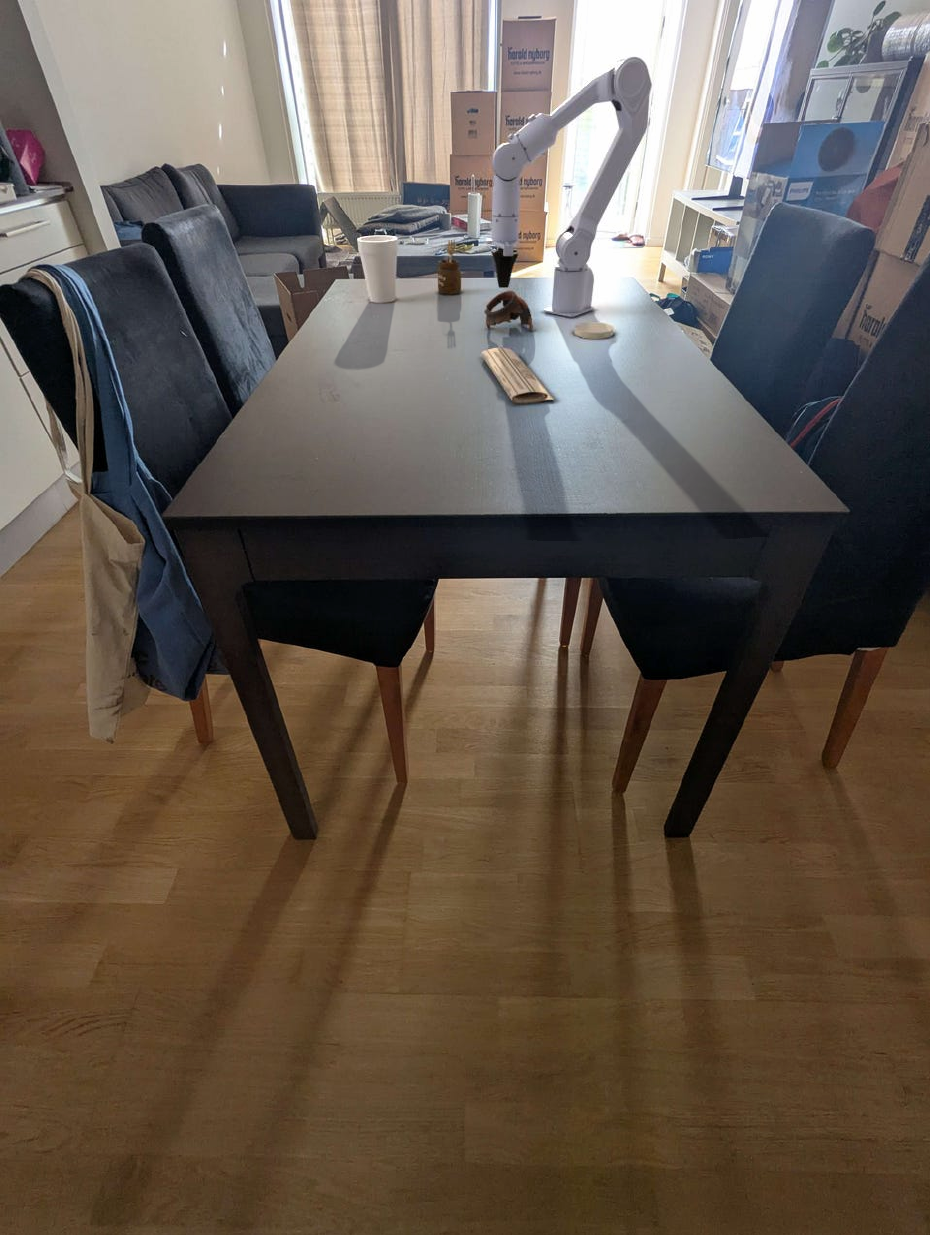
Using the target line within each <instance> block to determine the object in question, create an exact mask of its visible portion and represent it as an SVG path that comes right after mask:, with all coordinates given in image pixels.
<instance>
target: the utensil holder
mask: <svg viewBox="0 0 930 1235" xmlns="http://www.w3.org/2000/svg"><path fill="white" fill-rule="evenodd" d="M443 244H447V248H445V245H442V249H445V252H443V254H442V255H448V256H449V258H448V257H446V256H443V257H444V259H441V260H439V261H438V270H437V291H438V293H439V294H441V295H446V296H447V295H448V296H449V295H458V294H461V292H462V272H461V269H460V261H459V260H458V259H453V255H454V254H455V245H456V240H455V239H451V240H450V239H449V240H447V241H446V240H445V241H444V242H443Z"/></svg>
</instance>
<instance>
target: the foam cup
mask: <svg viewBox="0 0 930 1235" xmlns="http://www.w3.org/2000/svg"><path fill="white" fill-rule="evenodd" d="M398 244H399V243H398V237H397V236H394V235H378V234H375V235H367V236H361V237H358V238H357V250H358V252H359V257H360V261H361V265H362V270H363V275H364V279H365V284H366V289H367V294H368V299H369V301H370V302H371V303H377V304H383V303H384V304H385V303H391V302H394V301H396V291H397V289H396V288H397V267H398V266H397V264H398V251H399V247H398Z"/></svg>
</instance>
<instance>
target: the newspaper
mask: <svg viewBox="0 0 930 1235" xmlns="http://www.w3.org/2000/svg"><path fill="white" fill-rule="evenodd" d="M481 357H482V358H483V360H484V361H485V363H486V364H487V366H488V367H489V369H490V370H491V372H492V373H493V374H494V377H495V378H496V379H497V381H498V382H499V384H500V385H501V387H502V388H503V390H504V391H505V393H506V394H507V396H508V397H509V399H510V400H511V402H513V403H515V404H530V403H540V402H543V401H551V400H552V401H555V399H554V398H553V397H552V395H551V394H550V393H549V392H548V391H547V390H546V388H545V387H544V386H543V384H542V383H541V382H540V381H539V379H538V378H537V377H536V376H535V374H534V373H533V372H532V371H531V370H530V369H529V367H528V366H527V364H525V362H524V361H523V360H522V358H521V357H520V356H519V355H518V354H516V353H515V352H514V351H513V350H512V349H510V348H507V347H492V348H489V349H485V350H482V351H481Z"/></svg>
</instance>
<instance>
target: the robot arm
mask: <svg viewBox="0 0 930 1235" xmlns="http://www.w3.org/2000/svg"><path fill="white" fill-rule="evenodd" d="M652 86H653V84H652V80H651V75H650V71H649V69H648V65H647V63H646V62H645V60H643V59H642V58H641V57H638V56H630V57H627V58H626V59H624V58H623V59H619V60H617V61H615V62H614V63H613V64H612V65H611V66H610V67H608V68H605V69H603V70H602V71H600V72H599V73H597V74H596V75H594V76H593V77H591V78H590V79H589V80H588V81H586V82H585V83H584V84H583V85H582V86H581V87H579V89H577V90H576V91H575V92H574V93H573V94H571V96H569V98H567V99H566V100H565V101H564V102H563V103H562V104H560V105H559V106H558V107H557V108H556V109H555V110H554V111H552V112H551V113H550V114H547V113H544V112H539V113H538V114H537V115H536V114H532V115H530V116H529V117H528V119H527V120H528V122H527V124H525V125H524V126H522V128H521V129H519V130H518V131H517V132H516V133H514V134H513V133H510V134H509V135H508V136H507V139H508V141H509V142H506V143H502V144H500V145H499V146H498V147H497V148H496V149H495V150H494V152H493V155H492V159H491V167H492V171H493V172H494V174H493V179H492V184H493V187H492V192H491V193H492V196H491V197H492V198H491V201H492V202H491V238H486V239H485V243H486V245H492V246H494V247H497V248H498V249H491V250H490V253H491V256H492V258H493V261H494V266H495V272H496V279H497V285H498V288H499V289H503V288H505V289H507V288H509V286H510V282H511V277H512V273H513V268H514V265H515V263H516V260H517V259H518V256H519V252H518V250H517V248H515V247H517V246H519V244H520V239H519V230H520V228H519V227H520V224H519V223H520V203H521V188H520V176H521V173H522V171H523V168H524V166H525V165H526V166H529V165H530V164H532V163H533V162H534V161H536V159H538V158H539V157H541V155H543V154H544V153H545V152H546V151H547V150H549V149H550V148H552V146H554V145H555V144H556V142H557V141H556V140H557V135H558V134H559V131H560V130H562V129H563V128H565V127H566V126H567V125H569V124H570V123H571V122H573V121H574V120H575V119H576V118H578V117H579V116H581V115H582V114H583V113H584V112H585V111H587V110H588V109H590V108H591V107H592V106H593V105H595V104H601V103H606V102H610V103H611V104H612V106H613V107H614V110H615V115H616V119H617V124H618V130H617V132H616V134H615V136H614V138H613V140H612V142H611V144H610V146H609V148H608V150H607V152H606V154H605V156H604V158H603V161H602V162H601V164H600V167H599V169H598V170H597V172H596V174H595V177H594V179H593V181H592V182H591V185H590V187H589V188H588V191H587V193H586V194H585V197H584V199H583V201H582V203H581V205H580V207H579V209H578V211H577V213H576V215H575V216H574V217H573V218H572V220H571V221H570V223H569V224H568V227H567V228H566V229H565V230H564V231H563V232H562V233H560V235H559V236H558V237H557V240H556V241H555V242H556V243H555V252H556V255H557V257H558V258H559V259H558V260H557V262H556V263H555V265H554V272H553V284H552V285H553V287H552V298H551V301H552V302H551V306H550V307H547V308H544V309H543V312H544V313H549V314H553V315H559V316H562V317H563V316H564V317H568V318H574V317H576V316H580V315H582V314H585V313H587V312H590V311H594V309H595V306H592V302H593V292H594V284H595V275H594V272H593V270H592V268H591V267H589V265H588V264H587V263H588V262H589V261H590V257H591V251H592V245H593V244H594V241H595V238H596V235H597V232H598V231H597V230H598V225H599V223H600V222H601V220H602V218H603V216H604V214H605V212H606V210H607V208H608V207H609V204H610V203H611V200H612V198H613V196H614V194H615V192H616V191H617V188H618V187H619V185H620V183H621V181H622V179H623V177H624V175H625V173H626V171H627V169H628V167H629V165H630V163H631V161H632V159H633V157H634V155H635V154H636V152H637V150H638V147H639V146H640V144H641V142H642V140H643V138H644V136H645V134H646V132H647V129H648V125H649V124H648V123H649V109H650V95H651V90H652Z"/></svg>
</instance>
